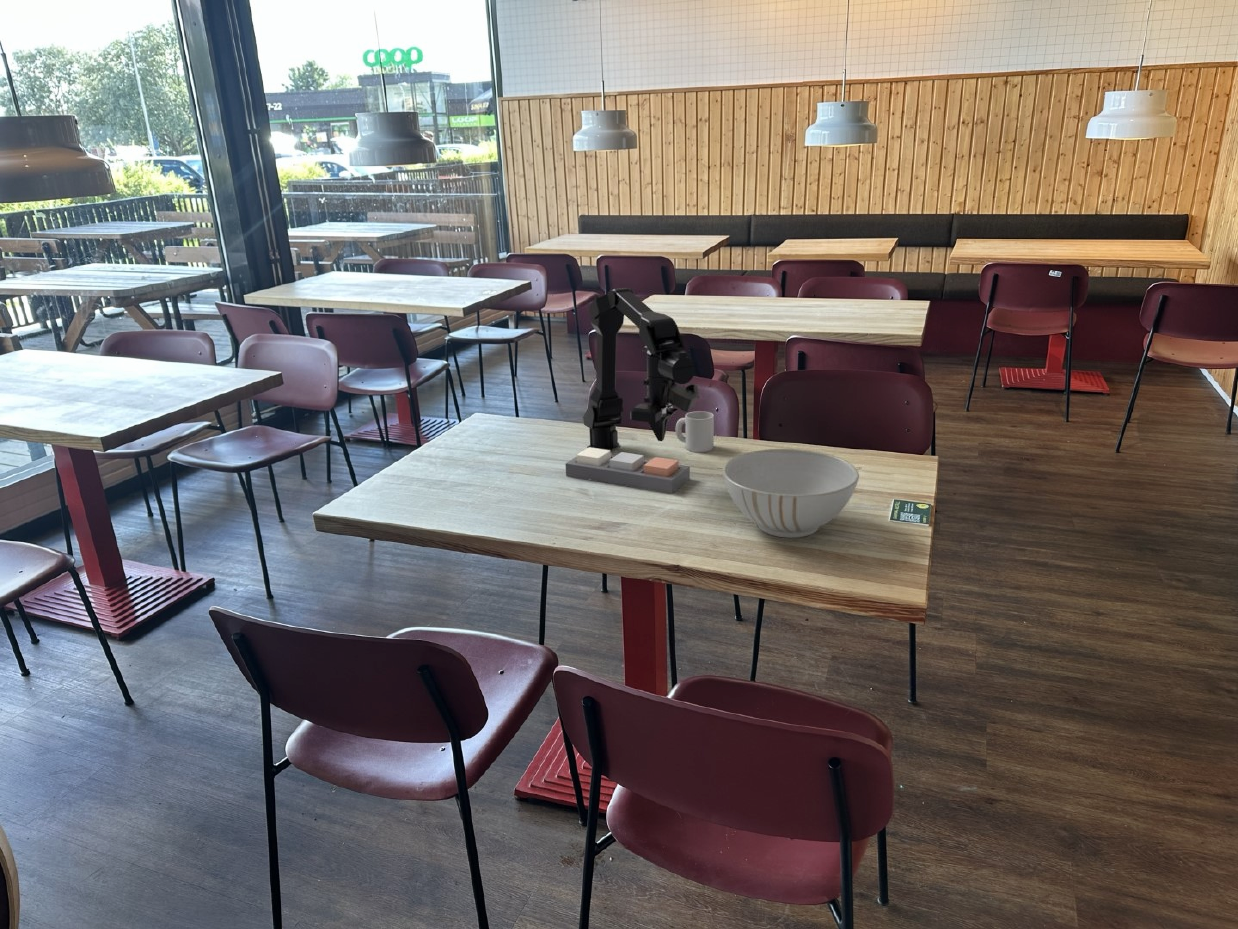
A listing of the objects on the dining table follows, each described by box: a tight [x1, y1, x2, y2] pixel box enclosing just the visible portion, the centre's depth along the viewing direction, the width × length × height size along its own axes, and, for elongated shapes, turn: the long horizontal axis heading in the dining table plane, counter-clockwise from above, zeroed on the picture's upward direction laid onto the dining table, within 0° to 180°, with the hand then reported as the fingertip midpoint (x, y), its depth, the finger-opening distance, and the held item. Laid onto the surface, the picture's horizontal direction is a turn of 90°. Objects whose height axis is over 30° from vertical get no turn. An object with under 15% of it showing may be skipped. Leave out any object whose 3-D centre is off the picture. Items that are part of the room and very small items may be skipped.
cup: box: [675, 410, 715, 453], centre depth 225 cm, size 7×10×9 cm
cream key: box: [576, 447, 612, 466], centre depth 211 cm, size 6×6×2 cm
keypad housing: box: [565, 453, 691, 495], centre depth 207 cm, size 28×10×3 cm, turn 62°
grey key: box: [609, 451, 645, 472], centre depth 207 cm, size 6×6×2 cm
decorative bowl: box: [722, 448, 860, 539], centre depth 177 cm, size 27×27×12 cm
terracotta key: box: [644, 456, 679, 477], centre depth 203 cm, size 6×6×2 cm
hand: (660, 440), depth 200 cm, fingers closed
